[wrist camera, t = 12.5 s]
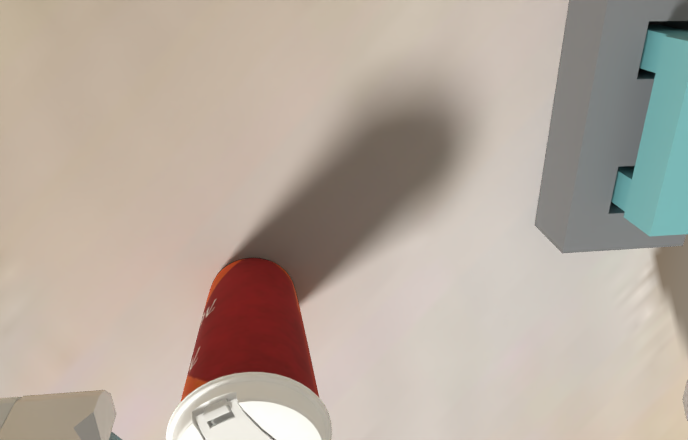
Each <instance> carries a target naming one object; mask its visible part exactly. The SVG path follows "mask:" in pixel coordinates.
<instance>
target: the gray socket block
mask: <svg viewBox="0 0 688 440" xmlns="http://www.w3.org/2000/svg"><path fill="white" fill-rule="evenodd" d="M648 24H657V25H662V26H667V27H672V28H677V29H682V30H687V31H688V0H569V6H568V13H567V19H566V26H565V32H564V39H563V45H562V52H561V58H560V65H559V71H558V78H557V84H556V91H555V97H554V104H553V110H552V117H551V123H550V130H549V136H548V143H547V149H546V155H545V162H544V168H543V175H542V181H541V188H540V194H539V201H538V207H537V214H536V220H535V226H536V227H537V228H538V229H539V230H540V231H541V232H542V233H543V234H544V235H545V236H546V237H547V238H548V239H549V240H550V241H551V242H552V243H553V244H554V245H555V246H556V247H557V248H558V249H559V250H560V251H561V252H562V253H573V252H589V251H605V250H621V249H637V248H653V247H667V246H668V247H669V246H683V243H684V239H685V236H686V234H682V235H665V236H648V235H647V234H646V233H644V232H643V231H642V230H640V229H639V228H638V227H636V226H635V225H633V224H632V223H631V222H629V221H628V220H627V219H625V218H624V213H625V211H623V210H622V209H621V208H619V207H618V206H616V205H615V204H614V203H612V202H611V199H612V194H613V190H614V185H615V180H616V175H617V171H618V167H620V166H635V163H636V159H637V154H638V150H639V146H640V141H641V137H642V132H643V128H644V123H645V119H646V114H647V110H648V105H649V101H650V96H651V92H652V87H653V83H654V78H655V74H656V73H653V72H650V71H647V70H644V69H641V68H639V66H640V62H641V57H642V52H643V47H644V43H645V38H646V33H647V28H648Z"/></svg>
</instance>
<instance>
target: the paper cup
mask: <svg viewBox="0 0 688 440" xmlns="http://www.w3.org/2000/svg"><path fill="white" fill-rule="evenodd" d="M331 436H332V427H331V420H330V416H329V413H328V411H327V409H326V407H325V405H324V404H323V402H322V401H321V400H320V398H319V395H318V390H317V385H316V381H315V376H314V371H313V367H312V362H311V357H310V353H309V348H308V344H307V339H306V334H305V330H304V325H303V321H302V316H301V312H300V307H299V303H298V299H297V295H296V291H295V288H294V285H293V282H292V280H291V278H290V276H289V275H288V273H287V272H286V271H285V270H284V269H283V268H282V267H280V266H279V265H277V264H276V263H274V262H272V261H269V260H266V259H261V258H245V259H241V260H237V261H235V262H233V263H231V264H229V265H227V266H226V267H224V268H223V269H222V270H221V271H220V272H219V273H218V275H217V276H216V278H215V279H214V281H213V283H212V286H211V289H210V292H209V295H208V298H207V302H206V306H205V309H204V313H203V317H202V321H201V324H200V328H199V332H198V336H197V340H196V344H195V348H194V352H193V355H192V359H191V363H190V367H189V371H188V375H187V379H186V383H185V387H184V391H183V395H182V399H181V402H180V403H179V405H178V406H177V407H176V409H175V410H174V412H173V413H172V416H171V418H170V420H169V422H168V427H167V431H166V440H331Z"/></svg>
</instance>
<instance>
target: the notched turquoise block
mask: <svg viewBox="0 0 688 440" xmlns="http://www.w3.org/2000/svg"><path fill="white" fill-rule="evenodd" d="M639 68H641V69H644V70H647V71H650V72H653V73H656V74H655V78H654V83H653V87H652V92H651V96H650V101H649V105H648V110H647V114H646V119H645V123H644V128H643V132H642V137H641V141H640V146H639V150H638V154H637V159H636V163H635V166H620V167H618V171H617V175H616V180H615V185H614V190H613V194H612V199H611V202H612V203H614V204H615V205H616V206H618V207H619V208H621V209H622V210H623V211H625V213H624V218H625V219H627V220H628V221H629V222H631V223H632V224H633V225H635V226H636V227H638V228H639V229H640V230H642V231H643V232H644V233H646V234H647V235H648V236H665V235H682V234H688V31H687V30H682V29H677V28H672V27H667V26H662V25H657V24H648V28H647V33H646V38H645V43H644V47H643V52H642V57H641V62H640V66H639Z"/></svg>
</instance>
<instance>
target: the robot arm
mask: <svg viewBox="0 0 688 440" xmlns="http://www.w3.org/2000/svg"><path fill="white" fill-rule="evenodd" d="M683 404H684V409H685V414H686V419H687V421H688V380H687V383H686V387H685V391H684V395H683ZM115 417H116V411H115V407H114V404H113V400H112V396H111V394H110V393H109V392H107V391H106V390H97V391H84V392H70V393H57V394H43V395H30V396H23V397H12V398H0V440H122V439H120V438H119V437H118V436H117V435H115V434H114V433H113V432H111V431H112V427H113V424H114V420H115Z"/></svg>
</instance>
